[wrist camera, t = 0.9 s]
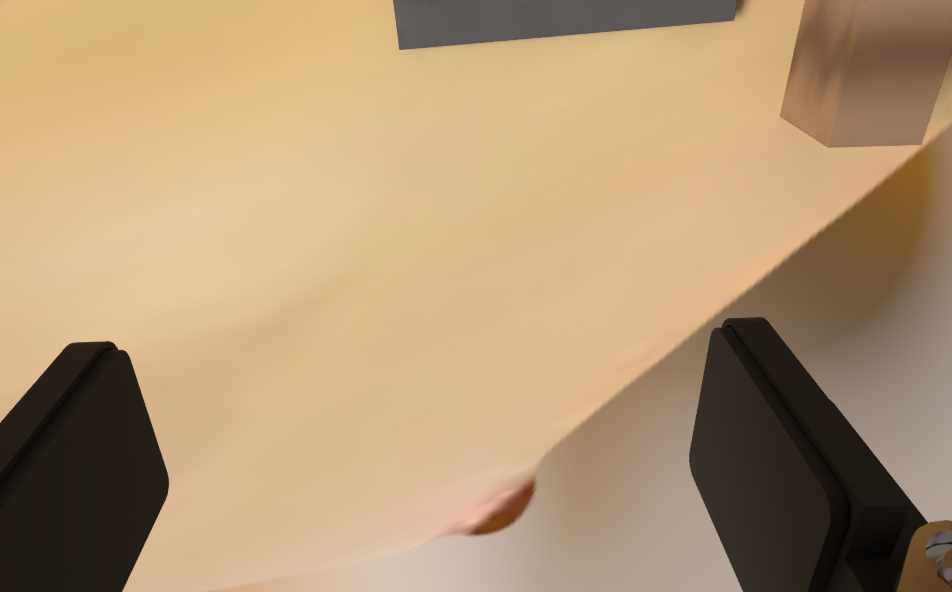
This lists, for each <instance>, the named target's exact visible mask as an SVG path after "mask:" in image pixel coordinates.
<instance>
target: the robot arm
mask: <svg viewBox="0 0 952 592" xmlns="http://www.w3.org/2000/svg"><path fill="white" fill-rule="evenodd" d="M689 462H690V469H691V473H692V476H693V478H694V481H695V483H696V485H697V487H698V490H699V492H700V494H701V497H702V499H703V501H704V503H705V506H706V508H707V510H708V513H709V515H710V517H711V519H712V522H713V524H714V526H715V528H716V531H717V533H718V535H719V537H720V540H721V542H722V544H723V547H724V549H725V551H726V554H727V556H728V558H729V561H730V563H731V565H732V567H733V570H734V572H735V574H736V577H737V578H738V581H739V583H740V586H741V588H742V590H743V592H952V521H948V520H944V521H937V522H929V523H928V522H927V521H926V520H925V518H924V517H923V516H922V514H921V513H920V512H919V511H918V509H917V508H916V507H915V506H914V504H913V503H912V502H911V501H910V499H909V498H908V497H907V496H906V494H905V493H904V492H903V490H902V489H901V488H900V487H899V485H898V484H897V483H896V482H895V480H894V479H893V478H892V476H891V475H890V474H889V473H888V472H887V470H886V469H885V468H884V467H883V465H882V464H881V463H880V461H879V460H878V459H877V457H876V456H875V455H874V454H873V452H872V451H871V450H870V449H869V447H868V446H867V445H866V443H865V442H864V441H863V440H862V438H861V437H860V436H859V435H858V434H857V432H856V431H855V430H854V429H853V427H852V426H851V424H850V423H849V422H848V421H847V419H846V418H845V417H844V416H843V414H842V413H841V412H840V411H839V409H838V408H837V407H836V406H835V404H834V403H833V402H831V400H830V399H828V397H827V396H826V395H825V394H824V392H823V391H822V390H821V389H820V387H819V386H818V385H817V383H816V382H815V381H814V379H813V378H812V377H811V376H810V374H809V373H808V372H807V371H806V369H805V368H804V367H803V365H802V364H801V363H800V362H799V360H798V359H797V358H796V357H795V355H794V354H793V353H792V351H791V350H790V349H789V348H788V347H787V345H786V344H785V343H784V341H783V340H782V339H781V338H780V336H779V335H778V334H777V333H776V331H775V330H774V329H773V327H772V326H771V325H770V323H769V322H768V321H767V320H766V319H765V318H762V317H756V318H755V317H754V318H728V319H726V320H725V321H724V323H723V325H722V328H715V329H713V331H712V333H711V337H710V343H709V348H708V353H707V359H706V364H705V370H704V376H703V381H702V386H701V392H700V398H699V404H698V409H697V414H696V420H695V426H694V431H693V436H692V442H691V447H690V454H689ZM168 489H169V478H168V473H167V470H166V467H165V464H164V461H163V458H162V455H161V452H160V449H159V446H158V442H157V439H156V436H155V433H154V430H153V427H152V424H151V421H150V418H149V415H148V412H147V409H146V406H145V403H144V400H143V396H142V393H141V390H140V387H139V384H138V381H137V378H136V375H135V372H134V369H133V366H132V363H131V360H130V357H129V355H128V353H127V352H126V351H124V350H118V348H117V347H116V345H115V344H114V343H112V342H110V341H105V342H78V343H71V344H69V345H68V346H67V347H65V349H64V350H63V351H62V352H61V353H60V354H59V356H58V357H57V358H56V359H55V360H54V361H53V362H52V364H51V365H50V366H49V367H48V368H47V369H46V371H45V372H44V373H43V374H42V375H41V376H40V377H39V379H38V380H37V381H36V382H35V383H34V384H33V386H32V387H31V388H30V389H29V390H28V391H27V392H26V394H25V395H24V396H23V397H22V398H21V399H20V401H19V402H18V403H17V404H16V405H15V406H14V408H13V409H12V410H11V411H10V412H9V413H8V414H7V416H6V417H5V418H4V419H3V420H2V421H1V423H0V592H122V591H123V589H124V587H125V584H126V582H127V580H128V578H129V576H130V574H131V572H132V570H133V567H134V565H135V563H136V561H137V559H138V557H139V555H140V553H141V551H142V548H143V546H144V544H145V542H146V540H147V538H148V536H149V534H150V532H151V529H152V527H153V525H154V523H155V521H156V519H157V517H158V515H159V512H160V510H161V508H162V506H163V504H164V502H165V500H166V497H167V494H168Z"/></svg>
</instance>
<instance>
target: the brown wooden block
mask: <svg viewBox="0 0 952 592" xmlns="http://www.w3.org/2000/svg"><path fill="white" fill-rule="evenodd" d="M951 54H952V0H805V3H804V8H803V12H802V17H801V22H800V26H799V31H798V35H797V40H796V45H795V49H794V54H793V58H792V63H791V68H790V72H789V77H788V81H787V86H786V91H785V95H784V100H783V104H782V109H781V114H780V117H781V118H783V119H785V120H786V121H788V122H789V123H791V124H792V125H794V126H795V127H797V128H799V129H800V130H802V131H803V132H805V133H806V134H808V135H809V136H811V137H812V138H814V139H816V140H817V141H819V142H820V143H822V144H823V145H825V146H826V147H828V148H830V147H864V146H899V145H921V144H922V141H923V138H924V135H925V132H926V129H927V126H928V123H929V120H930V117H931V114H932V111H933V108H934V105H935V102H936V99H937V96H938V93H939V90H940V87H941V84H942V81H943V78H944V75H945V72H946V69H947V66H948V63H949V60H950V57H951Z"/></svg>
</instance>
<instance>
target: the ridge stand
mask: <svg viewBox="0 0 952 592" xmlns="http://www.w3.org/2000/svg"><path fill="white" fill-rule="evenodd" d="M393 3H394V11H395V19H396V26H397V34H398V42H399V50H404V49H415V48H427V47H438V46H450V45H461V44H472V43H484V42H495V41H507V40H518V39H530V38H541V37H553V36H564V35H575V34H587V33H598V32H610V31H621V30H633V29H644V28H655V27H667V26H678V25H690V24H701V23H713V22H724V21H734V18H735V9H736V0H393Z"/></svg>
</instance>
